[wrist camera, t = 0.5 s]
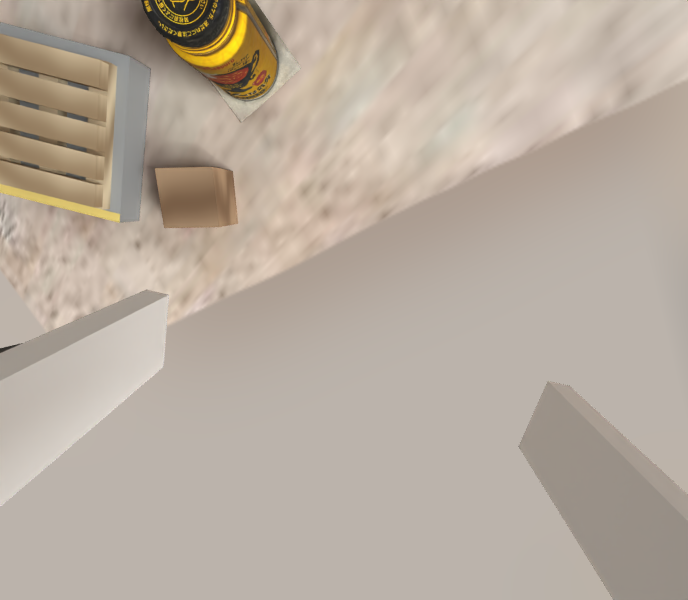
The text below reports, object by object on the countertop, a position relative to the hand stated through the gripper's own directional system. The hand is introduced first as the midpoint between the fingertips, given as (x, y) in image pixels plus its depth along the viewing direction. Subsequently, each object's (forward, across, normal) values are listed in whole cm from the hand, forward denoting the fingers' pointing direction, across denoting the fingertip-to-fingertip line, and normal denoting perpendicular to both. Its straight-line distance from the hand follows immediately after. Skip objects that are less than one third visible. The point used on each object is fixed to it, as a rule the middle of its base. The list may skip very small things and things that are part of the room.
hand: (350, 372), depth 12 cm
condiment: (+25, -14, +15) cm, 33 cm away
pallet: (+22, -29, +6) cm, 37 cm away
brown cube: (+25, -16, +2) cm, 30 cm away
